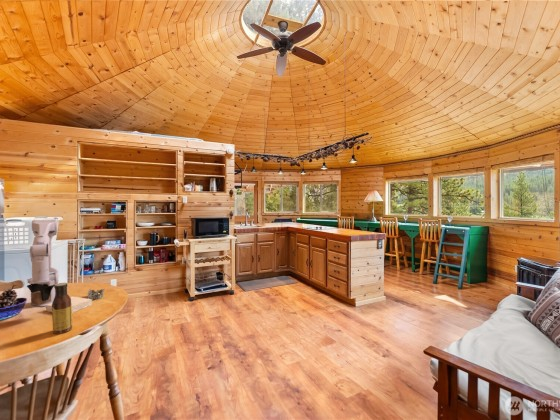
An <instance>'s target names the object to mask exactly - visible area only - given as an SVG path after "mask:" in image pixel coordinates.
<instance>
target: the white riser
mask: <svg viewBox="0 0 560 420" xmlns="http://www.w3.org/2000/svg"><path fill="white" fill-rule="evenodd" d="M70 298H71V304H72V314H73V313H75V312H78V311H80V310H83V309H85V308H88V307H90V306H92V305H93V300H92V299H88V298H87V297H85V298H84V297H79V296H70ZM45 311H46V312H49V313H52V303H51V304H48V305H46V306H45Z"/></svg>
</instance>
